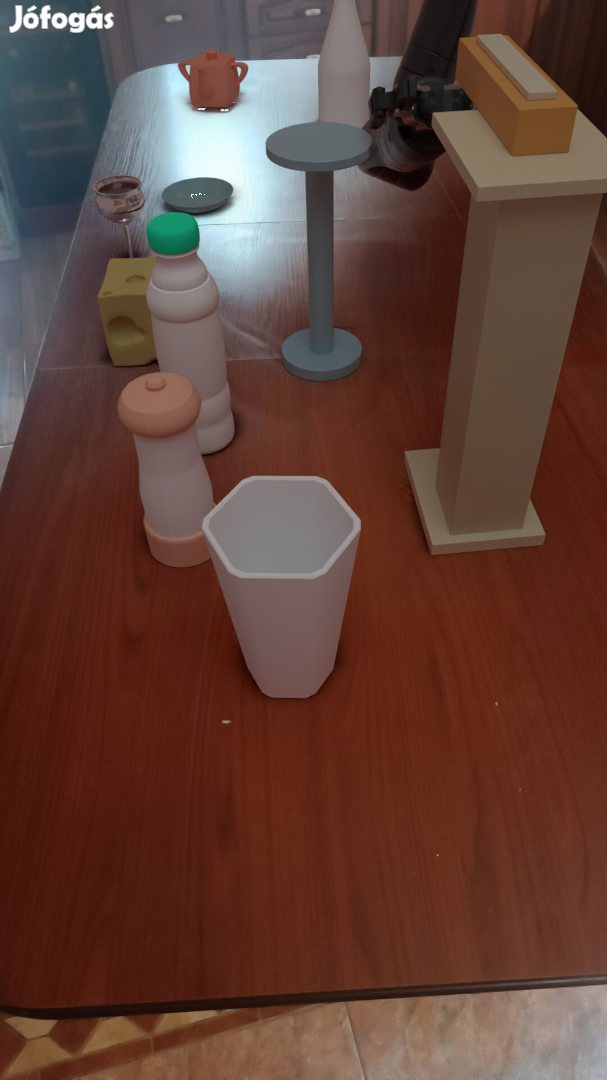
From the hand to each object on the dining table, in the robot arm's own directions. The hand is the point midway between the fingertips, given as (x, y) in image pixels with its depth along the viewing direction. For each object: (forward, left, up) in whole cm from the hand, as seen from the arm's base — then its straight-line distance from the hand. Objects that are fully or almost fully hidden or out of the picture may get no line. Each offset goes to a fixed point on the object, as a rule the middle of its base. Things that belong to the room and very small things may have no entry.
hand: (460, 83), depth 72 cm
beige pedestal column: (0, +20, -33) cm, 39 cm away
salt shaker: (+29, +22, -33) cm, 49 cm away
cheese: (+33, -14, -33) cm, 49 cm away
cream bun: (0, +14, +2) cm, 14 cm away
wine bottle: (-1, -84, -33) cm, 90 cm away
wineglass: (+37, -36, -33) cm, 61 cm away
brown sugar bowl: (+23, -104, -33) cm, 112 cm away
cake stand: (+12, -8, -33) cm, 36 cm away
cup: (+20, +38, -33) cm, 54 cm away
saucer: (+27, -56, -33) cm, 71 cm away
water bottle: (+27, +6, -33) cm, 43 cm away
